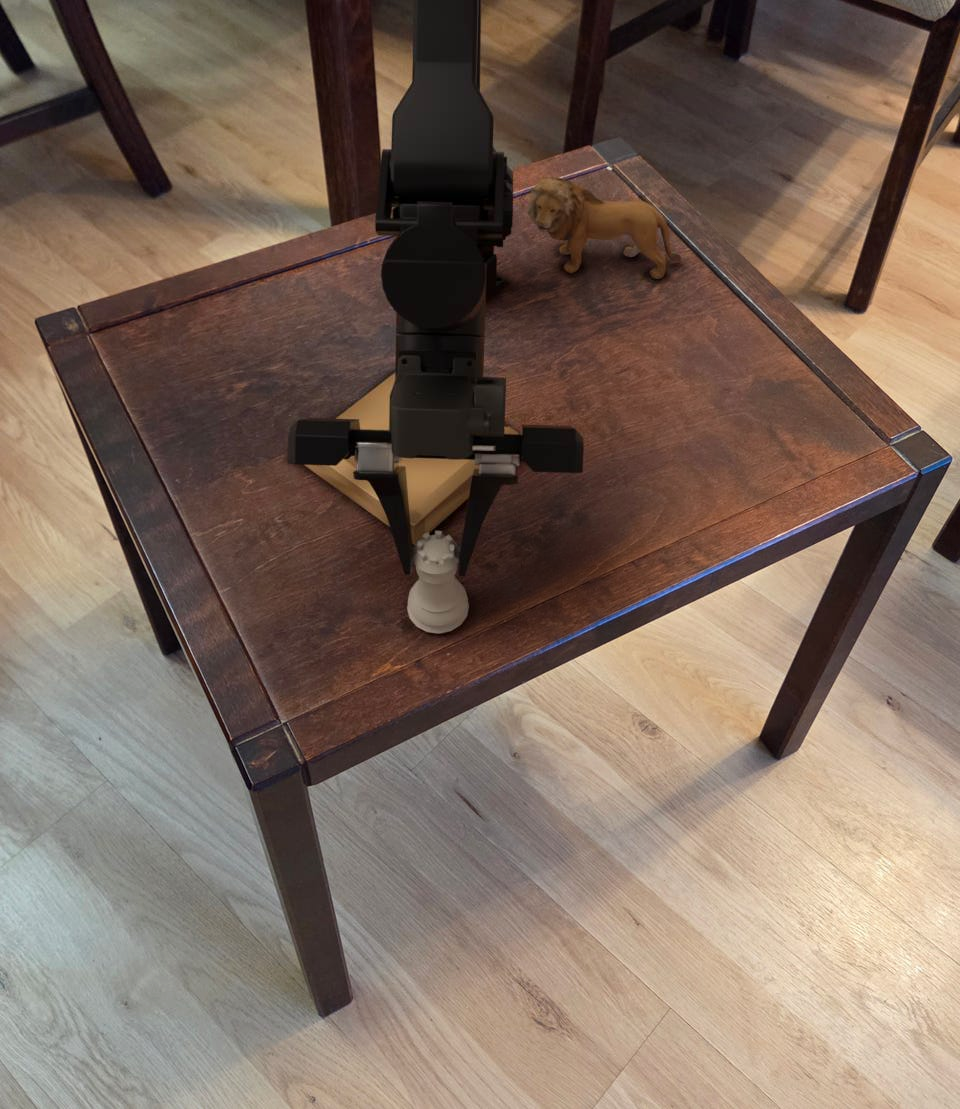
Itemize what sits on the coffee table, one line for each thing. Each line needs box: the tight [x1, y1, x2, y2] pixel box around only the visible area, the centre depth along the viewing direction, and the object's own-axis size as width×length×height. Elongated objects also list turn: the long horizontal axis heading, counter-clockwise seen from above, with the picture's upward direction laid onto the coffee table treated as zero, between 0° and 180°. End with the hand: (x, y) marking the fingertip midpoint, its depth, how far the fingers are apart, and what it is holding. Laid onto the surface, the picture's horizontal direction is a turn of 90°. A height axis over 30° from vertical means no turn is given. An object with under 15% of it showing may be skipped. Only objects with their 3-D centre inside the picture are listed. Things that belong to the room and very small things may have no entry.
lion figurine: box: [527, 177, 682, 280], centre depth 96 cm, size 15×5×9 cm, turn 92°
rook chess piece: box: [406, 530, 470, 634], centre depth 73 cm, size 4×4×8 cm
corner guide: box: [304, 372, 520, 546], centre depth 84 cm, size 14×14×2 cm
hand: (434, 575), depth 70 cm, fingers closed on rook chess piece, 3 cm apart
